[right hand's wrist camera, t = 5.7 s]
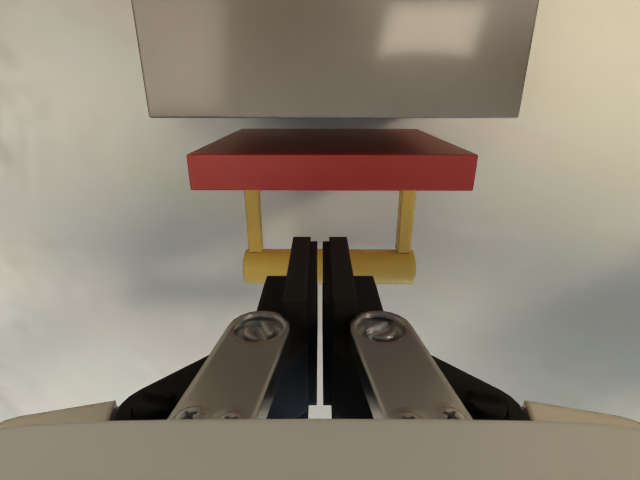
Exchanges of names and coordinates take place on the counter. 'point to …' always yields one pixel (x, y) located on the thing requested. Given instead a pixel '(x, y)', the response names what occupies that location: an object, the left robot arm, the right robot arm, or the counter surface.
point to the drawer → (332, 183)
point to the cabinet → (334, 58)
